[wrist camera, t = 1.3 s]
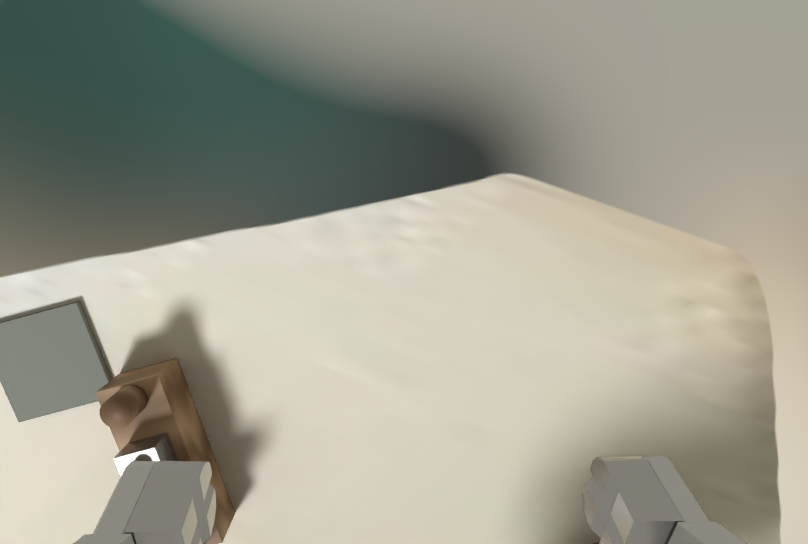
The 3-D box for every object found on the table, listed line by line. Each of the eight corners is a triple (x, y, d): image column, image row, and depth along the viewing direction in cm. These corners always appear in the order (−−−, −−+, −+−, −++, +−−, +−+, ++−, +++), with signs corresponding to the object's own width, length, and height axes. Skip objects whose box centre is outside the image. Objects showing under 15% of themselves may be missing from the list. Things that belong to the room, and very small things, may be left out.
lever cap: (192, 496, 51) (178, 521, 48) (154, 506, 51) (137, 531, 48) (167, 432, 50) (150, 452, 46) (128, 442, 50) (108, 463, 46)
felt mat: (117, 394, 54) (114, 396, 53) (22, 419, 54) (18, 422, 53) (79, 301, 52) (76, 302, 51) (-19, 327, 52) (-23, 329, 51)
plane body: (234, 513, 57) (197, 599, 45) (180, 527, 57) (130, 616, 45) (177, 358, 53) (120, 410, 42) (119, 373, 53) (47, 429, 42)
